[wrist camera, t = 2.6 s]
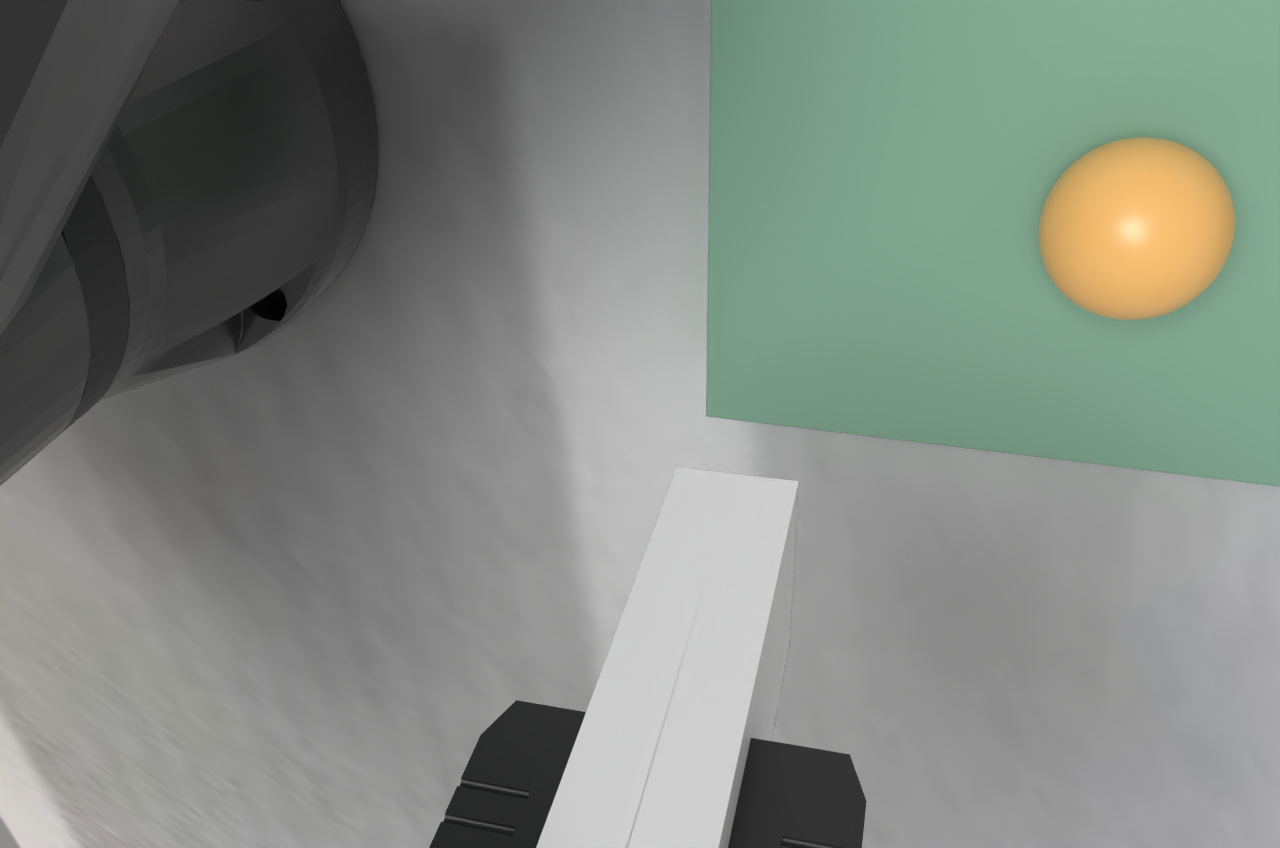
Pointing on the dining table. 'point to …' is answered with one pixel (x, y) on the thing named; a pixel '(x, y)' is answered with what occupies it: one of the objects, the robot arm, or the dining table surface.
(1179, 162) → the ball
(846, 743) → the dining table surface
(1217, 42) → the mini golf green
